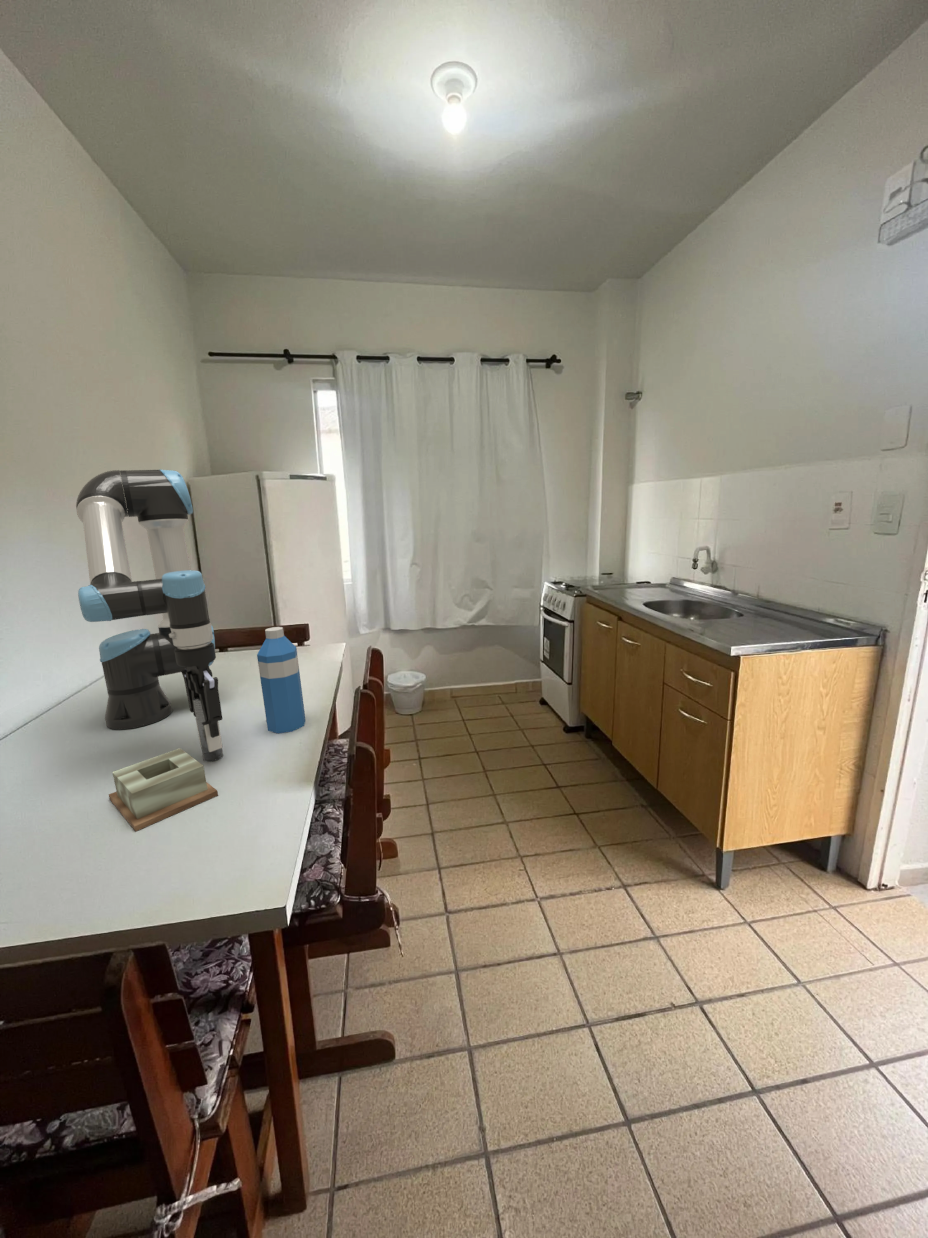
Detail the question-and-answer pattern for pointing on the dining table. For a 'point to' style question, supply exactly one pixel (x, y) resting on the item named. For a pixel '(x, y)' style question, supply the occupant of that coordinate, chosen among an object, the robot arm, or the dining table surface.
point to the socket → (160, 788)
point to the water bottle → (281, 682)
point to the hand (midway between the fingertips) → (211, 746)
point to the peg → (204, 734)
